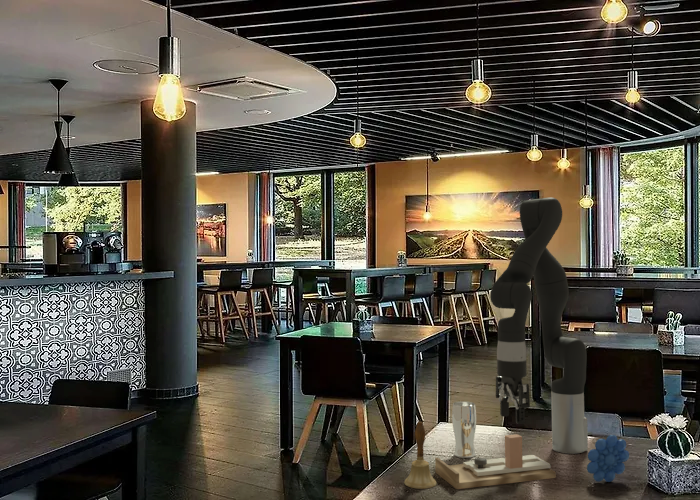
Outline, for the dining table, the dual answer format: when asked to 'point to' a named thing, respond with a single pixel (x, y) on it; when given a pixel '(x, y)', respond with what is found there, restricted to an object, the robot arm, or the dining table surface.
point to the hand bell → (420, 464)
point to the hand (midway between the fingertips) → (512, 419)
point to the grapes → (607, 458)
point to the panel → (503, 469)
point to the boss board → (467, 479)
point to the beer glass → (464, 428)
